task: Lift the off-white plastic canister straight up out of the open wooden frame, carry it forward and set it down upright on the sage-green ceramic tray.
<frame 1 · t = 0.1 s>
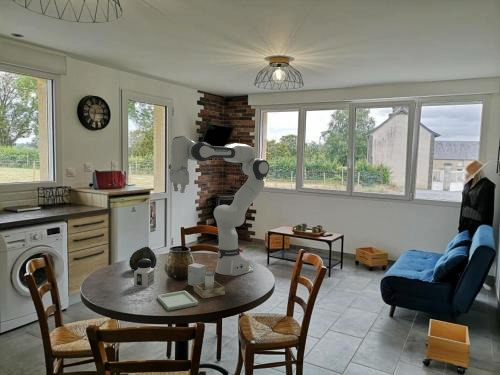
hand: (179, 192, 198), 48 cm above the table, fingers open, 8 cm apart
tray: (177, 301, 170), on the table
canister: (209, 282, 183), in the open wooden frame
container: (144, 284, 192), on the table
open wooden frame: (209, 292, 183), on the table
small box: (196, 285, 194), on the table
squash: (143, 270, 216), on the table
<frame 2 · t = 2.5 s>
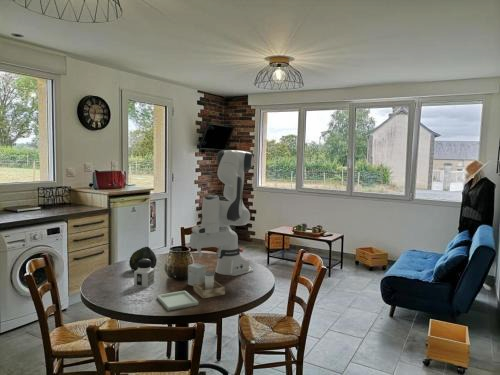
hand: (209, 255, 182), 19 cm above the table, fingers open, 8 cm apart
nothing on the table moved.
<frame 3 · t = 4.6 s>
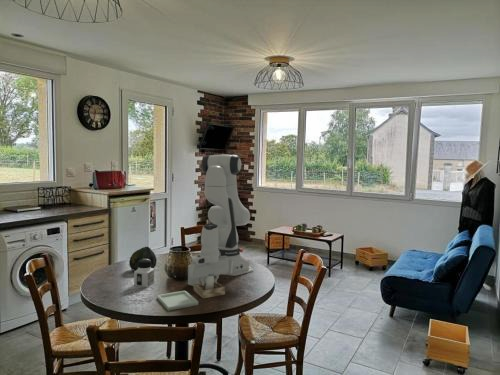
hand: (209, 284, 183), 4 cm above the table, fingers closed on canister, 4 cm apart
canister: (209, 282, 183), in the open wooden frame, touching gripper
everything else where it was.
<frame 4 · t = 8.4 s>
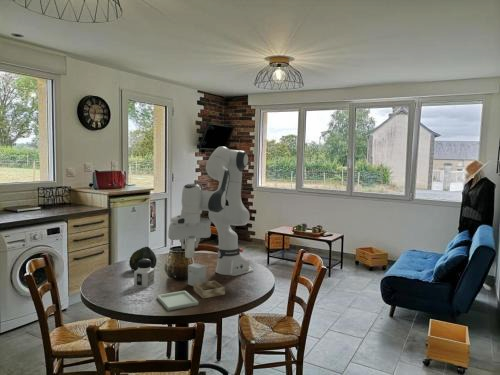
hand: (189, 248, 172), 24 cm above the table, fingers closed on canister, 4 cm apart
canister: (189, 246, 172), point 25 cm above the table, touching gripper
everything else where it was.
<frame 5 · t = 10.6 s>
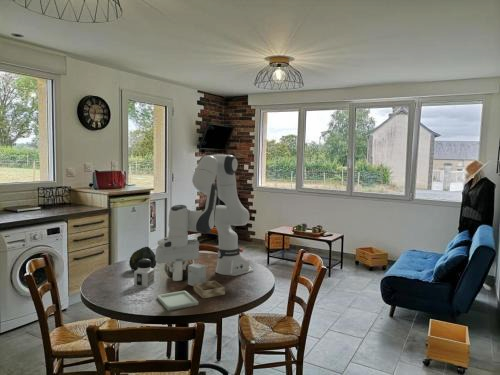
hand: (177, 270, 169), 15 cm above the table, fingers closed on canister, 4 cm apart
canister: (177, 268, 169), point 16 cm above the table, touching gripper
everything else where it was.
when the fingers open (6 cm above the table, at t = 12.5 s): canister drops 1 cm, resting on tray.
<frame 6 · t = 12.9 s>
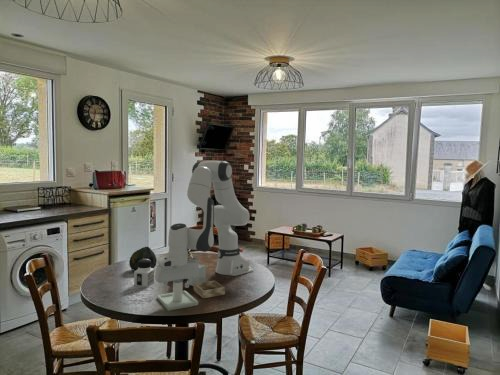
hand: (177, 288, 170), 6 cm above the table, fingers open, 8 cm apart
canister: (177, 289, 170), in the tray, point 6 cm above the table
everything else where it was.
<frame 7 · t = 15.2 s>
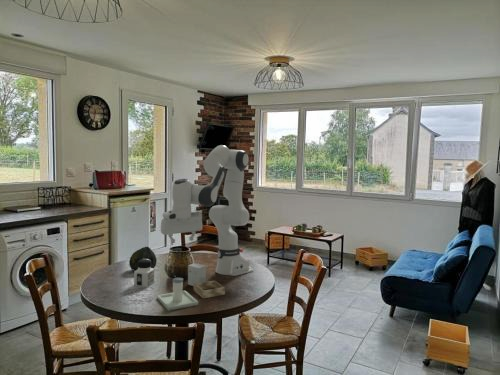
hand: (182, 241, 177), 26 cm above the table, fingers open, 8 cm apart
nothing on the table moved.
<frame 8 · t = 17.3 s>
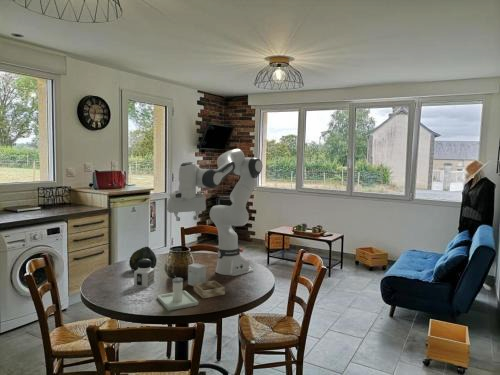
hand: (186, 220, 191), 34 cm above the table, fingers open, 8 cm apart
nothing on the table moved.
at the end: canister inside the target area on the tray (0.0 cm from its centre), point 5.6 cm above the tray's base; canister tilted 1°; the gripper is holding nothing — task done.
